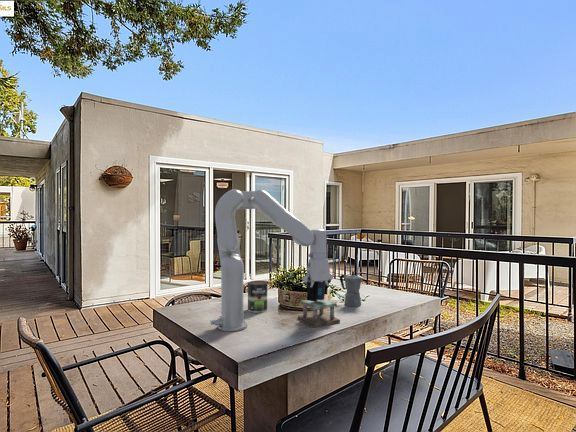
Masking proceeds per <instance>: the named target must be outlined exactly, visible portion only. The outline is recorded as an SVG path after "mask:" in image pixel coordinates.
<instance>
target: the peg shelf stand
mask: <svg viewBox="0 0 576 432" xmlns="http://www.w3.org/2000/svg"><path fill="white" fill-rule="evenodd" d="M300 304H301V305H302V307H303V308H302V310H303V311H302V314H301V315H300V314H299V315H297V320H299V321H301V322H303V323H304V324H306V325H308V326H310V327H312V328H319V327H325V326H330V325H336V324H340V323H341V319H339V318H337V317H335V307H337V306H338V304H337V303H336V302H333V301H331V300H329V299H326V298H324V300H317V302H314V301H309V300H307V299H304V300H303V299H302V300H300ZM308 308H311V309H312V310H313V312H312V313H308ZM325 308H326V309H327V308H329V313H327V312H324V309H325ZM318 310H319V312H318Z"/></svg>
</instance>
